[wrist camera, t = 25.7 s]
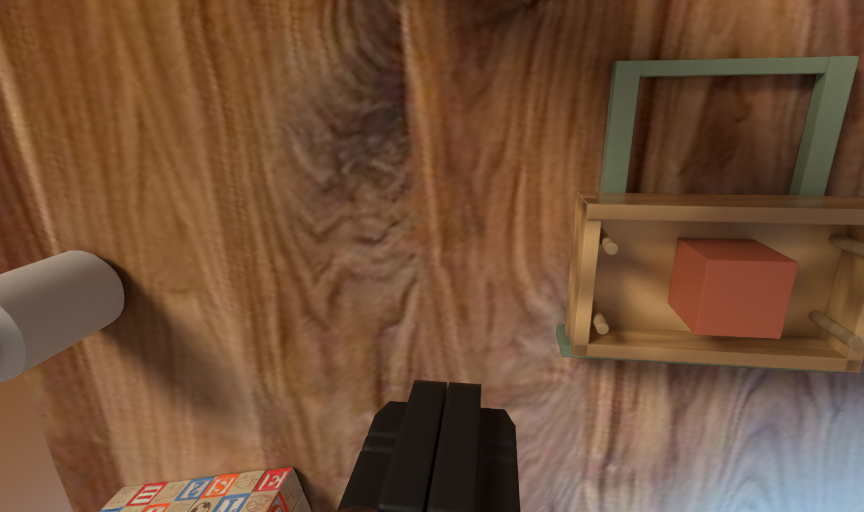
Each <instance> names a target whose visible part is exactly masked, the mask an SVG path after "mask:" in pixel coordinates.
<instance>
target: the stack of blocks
mask: <svg viewBox="0 0 864 512" xmlns="http://www.w3.org/2000/svg"><path fill="white" fill-rule="evenodd" d="M100 512H312V511H311V509H310V506H309V504H308V501H307V499H306V497H305V495H304V492H303V490H302V487H301V484H300V482H299V480H298V478H297V475H296V473H295V471H294V469H293V467H289V468H282V469H275V470H268V471H266V470H260V471H252V472H245V473H241V474H240V473H237V474H228V475H220V476H216V477H208V478H200V479H193V480H185V481H177V482H170V483H168V482H164V483H155V484H146V485H136V486H128V487H123V488H122V489H120V490H119V491H118V492H117V494H116V495H115V496H114V497H113V498H112V499H111V500H110V501H109V502H108V503H107V504H106V505H105V506H104V507H103V508H102V509H101V511H100Z"/></svg>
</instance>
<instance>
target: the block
mask: <svg viewBox="0 0 864 512" xmlns="http://www.w3.org/2000/svg"><path fill="white" fill-rule="evenodd" d="M798 264H799V263H798V262H797V261H795V260H793V259H791V258H789V257H787V256H785V255H783V254H781V253H779V252H778V251H776V250H774V249H772V248H770V247H768V246H766V245H764V244H762V243H760V242H758V241H756V240H754V239H715V238H677V244H676V250H675V257H674V263H673V270H672V276H671V283H670V289H669V296H668V302H667V303H668V304H669V306H670V307H671V308H672V309H673V310H674V311H675V312H676V314H677V315H678V316H679V317H680V318H681V319H682V321H683V322H684V323H685V324H686V325H687V326H688V327H689V329H690V330H691V331H692V332H693V333H694V334H695V335H713V336H734V337H756V338H777V339H780V338H781V334H782V330H783V326H784V322H785V317H786V313H787V309H788V305H789V301H790V297H791V293H792V289H793V284H794V280H795V276H796V272H797V268H798Z"/></svg>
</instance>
